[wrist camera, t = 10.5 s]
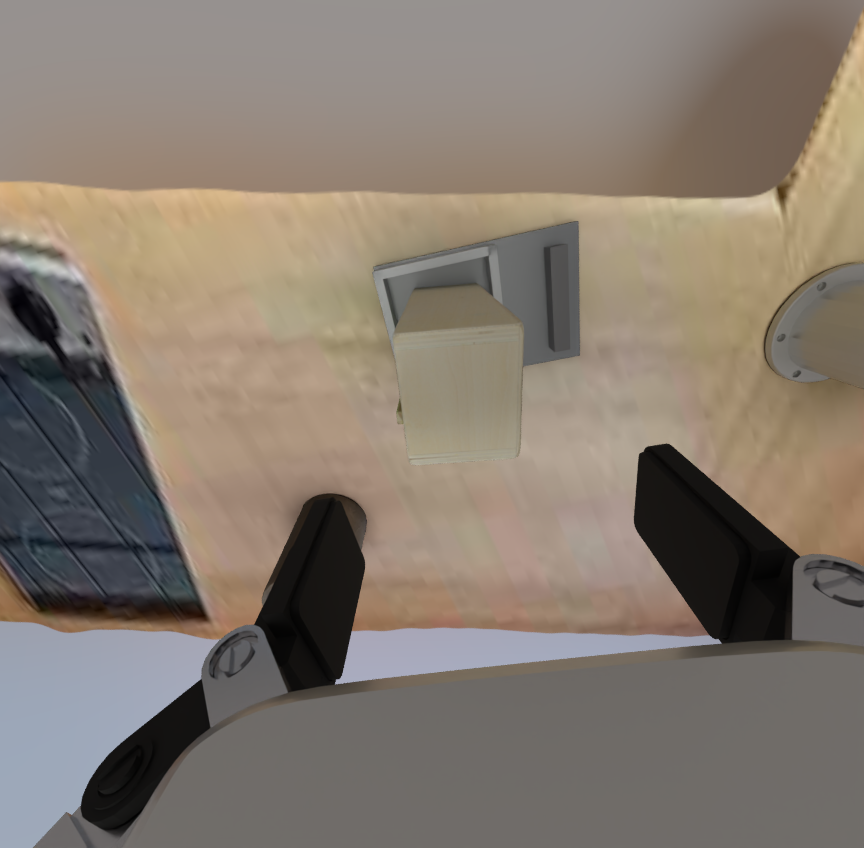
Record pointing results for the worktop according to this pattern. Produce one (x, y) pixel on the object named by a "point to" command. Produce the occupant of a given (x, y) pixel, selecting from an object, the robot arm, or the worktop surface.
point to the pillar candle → (350, 507)
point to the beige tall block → (459, 376)
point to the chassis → (504, 285)
